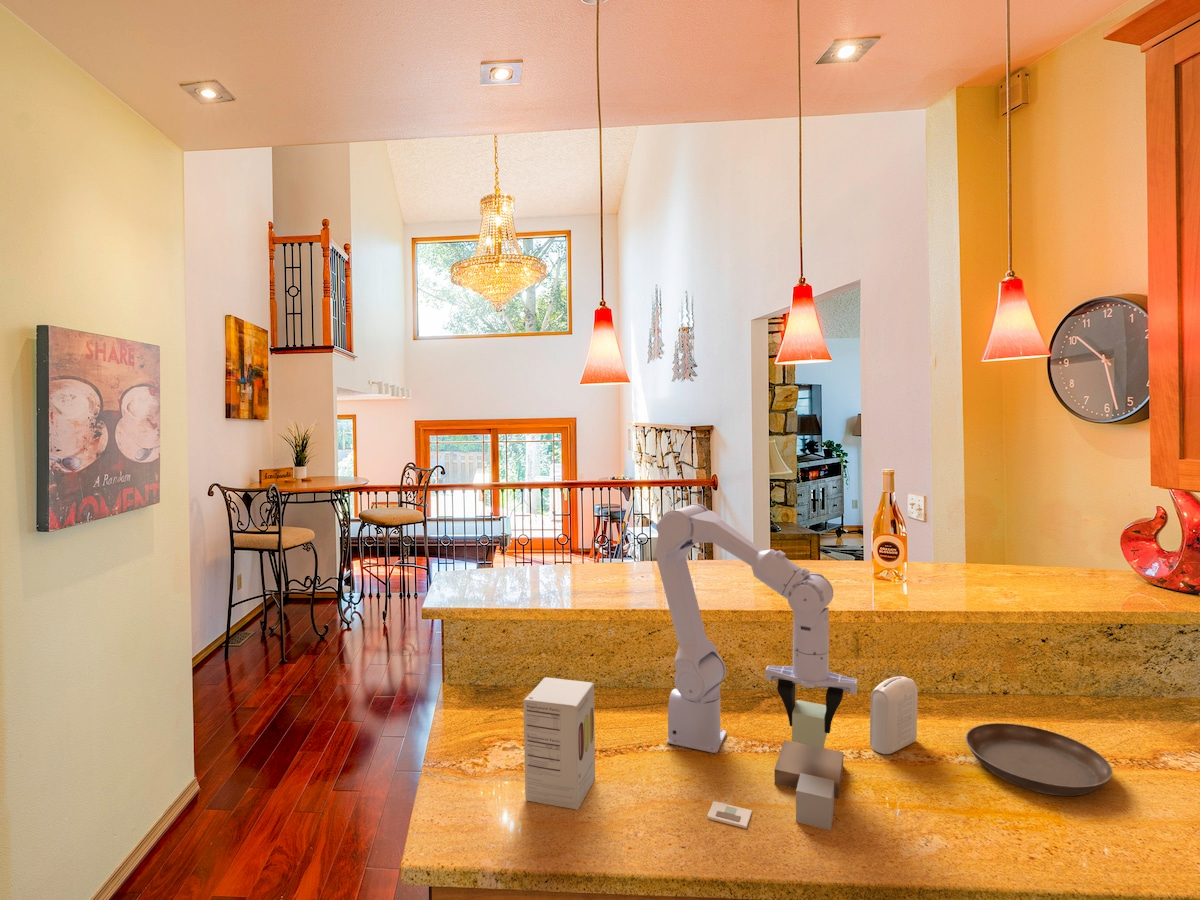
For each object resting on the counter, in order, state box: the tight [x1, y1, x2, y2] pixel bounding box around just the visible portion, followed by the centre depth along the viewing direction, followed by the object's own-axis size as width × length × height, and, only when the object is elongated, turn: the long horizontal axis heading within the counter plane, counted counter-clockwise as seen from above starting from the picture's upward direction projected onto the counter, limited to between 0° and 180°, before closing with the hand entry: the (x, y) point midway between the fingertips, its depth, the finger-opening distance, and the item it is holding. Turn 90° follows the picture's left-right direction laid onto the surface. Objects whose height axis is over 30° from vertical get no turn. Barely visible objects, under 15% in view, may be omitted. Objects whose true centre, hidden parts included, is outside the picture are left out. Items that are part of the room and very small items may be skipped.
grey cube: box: [795, 773, 835, 831], centre depth 98 cm, size 5×5×5 cm
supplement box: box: [522, 676, 596, 811], centre depth 105 cm, size 10×9×17 cm
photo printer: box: [869, 675, 919, 755], centre depth 118 cm, size 10×4×12 cm, turn 123°
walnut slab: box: [774, 740, 844, 799], centre depth 109 cm, size 10×10×3 cm
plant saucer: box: [965, 722, 1113, 797], centre depth 110 cm, size 21×21×3 cm
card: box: [706, 800, 753, 829], centre depth 98 cm, size 6×4×1 cm, turn 66°
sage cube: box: [791, 699, 828, 748], centre depth 108 cm, size 5×5×5 cm
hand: (809, 727), depth 108 cm, fingers closed on sage cube, 5 cm apart
